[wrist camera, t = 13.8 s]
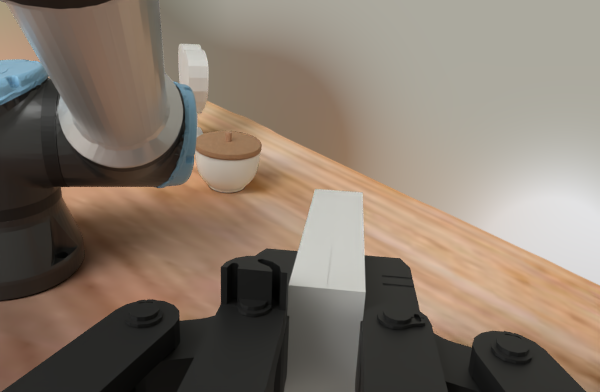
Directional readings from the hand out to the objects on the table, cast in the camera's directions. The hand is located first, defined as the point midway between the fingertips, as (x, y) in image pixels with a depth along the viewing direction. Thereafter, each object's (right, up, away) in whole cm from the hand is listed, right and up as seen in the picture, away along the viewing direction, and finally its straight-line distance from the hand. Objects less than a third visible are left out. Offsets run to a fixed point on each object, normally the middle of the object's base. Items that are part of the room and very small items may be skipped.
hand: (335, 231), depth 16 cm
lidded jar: (-14, +3, +69) cm, 71 cm away
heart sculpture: (-23, +13, +88) cm, 92 cm away
